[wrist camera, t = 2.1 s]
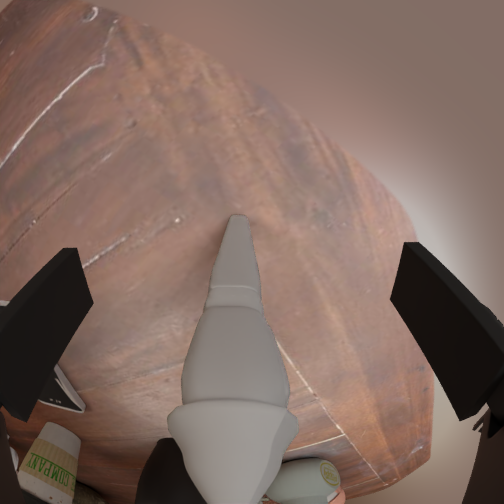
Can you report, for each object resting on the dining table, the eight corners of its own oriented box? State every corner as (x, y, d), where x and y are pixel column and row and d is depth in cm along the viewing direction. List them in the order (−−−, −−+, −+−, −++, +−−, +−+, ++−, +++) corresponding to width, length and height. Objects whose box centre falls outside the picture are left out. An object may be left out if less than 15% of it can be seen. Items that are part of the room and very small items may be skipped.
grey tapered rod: (214, 197, 15) (131, 506, 2) (265, 197, 15) (326, 512, 3) (216, 240, 16) (170, 528, 4) (264, 240, 16) (299, 531, 4)
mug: (171, 466, 32) (165, 521, 23) (135, 430, 27) (120, 500, 18) (226, 468, 32) (225, 526, 23) (202, 433, 26) (197, 511, 18)
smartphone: (19, 307, 18) (86, 414, 24) (27, 298, 19) (89, 405, 25) (-24, 303, 18) (39, 402, 24) (-17, 295, 19) (43, 394, 25)
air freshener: (340, 463, 33) (351, 518, 24) (292, 478, 35) (297, 530, 26) (310, 446, 28) (320, 517, 20) (253, 462, 30) (255, 527, 22)
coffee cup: (104, 451, 31) (85, 531, 18) (66, 446, 32) (46, 514, 19) (59, 416, 27) (27, 505, 13) (26, 412, 28) (-4, 485, 15)
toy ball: (321, 474, 35) (328, 514, 28) (350, 475, 37) (357, 511, 30) (287, 487, 37) (291, 524, 30) (317, 489, 40) (322, 522, 33)
